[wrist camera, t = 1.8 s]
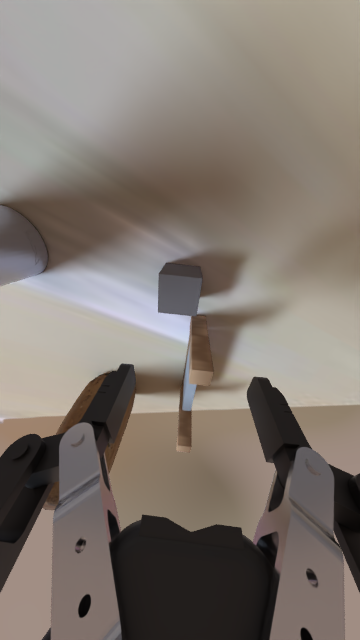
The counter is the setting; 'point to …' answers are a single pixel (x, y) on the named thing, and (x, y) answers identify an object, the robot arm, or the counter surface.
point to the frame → (194, 375)
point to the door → (188, 389)
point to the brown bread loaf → (75, 417)
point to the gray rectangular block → (179, 289)
